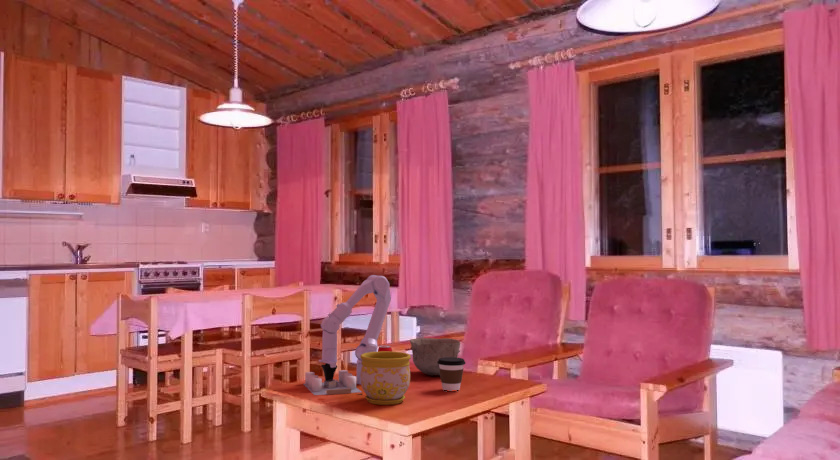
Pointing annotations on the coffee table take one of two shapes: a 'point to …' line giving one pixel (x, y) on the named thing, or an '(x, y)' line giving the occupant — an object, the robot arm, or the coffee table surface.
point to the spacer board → (344, 387)
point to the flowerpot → (385, 376)
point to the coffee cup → (451, 372)
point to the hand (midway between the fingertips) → (329, 383)
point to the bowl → (432, 353)
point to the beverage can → (384, 348)
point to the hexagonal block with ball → (330, 383)
